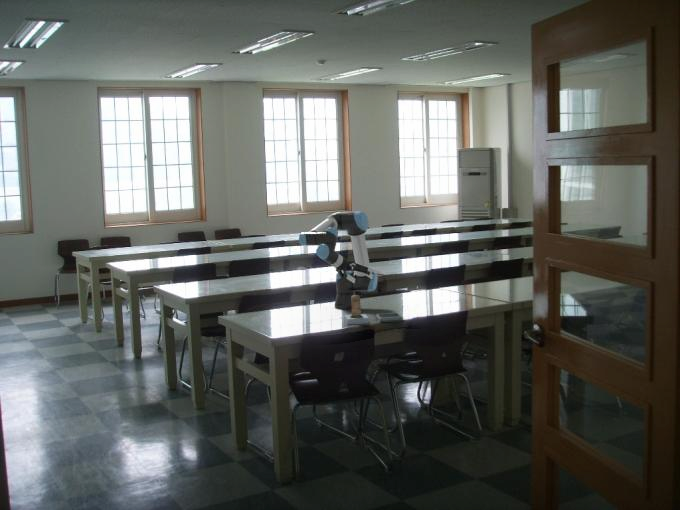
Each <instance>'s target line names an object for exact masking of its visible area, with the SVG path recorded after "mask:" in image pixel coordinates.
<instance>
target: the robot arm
mask: <svg viewBox="0 0 680 510" xmlns="http://www.w3.org/2000/svg"><path fill="white" fill-rule="evenodd" d="M368 229H369V219H368V216H367V213H366V212H365V211H363V210H362V211H361V210H355V211H354V210H351V211H349V210H347V211H345V210H344V211H336V212H334V213H331V214H329V215H327V216H326V217H325V218H324V219H323V220H322V222H320V223H318V224H317V226H315V227H313V228H311V230H309V231H304V232H303V231H302V232H300V234H299V237H298V243H299V244H300V245H301V246H305V247H307V246H308V247H309V246H317V248H316V251H315V253H316V256H318V257H319V258H320V259H321V260H322V261H325V262H326V263H327V264H329V265H331V266H332V267H333V268H334V269H335V271H336V272H337V273H336V275H335V282H336V297H335V301H334V308H335V309H338V310H339V309H340V310H348V309H349V310H352V301H351V296H353V295H356V292H373V291H375V290H376V288H377V286H378V282H379V280H378V277H379V276H378V273H377V272H374V269H373V268H372V267H371V264H370V259H369V258H370V257H369V254H368V253H369V252H368V247H367V246H368V245H367V241H366V237H365V234H366V232H367V230H368ZM339 231H346V232H347V236H349V237H350V241H351V245H352V252H353V258H354V261H352V263H349V261H348V259H347V258H345V257H344V256H342V255H341V254H340V253H338V252H336V246H337V242H338V239H339V238H338V236H339Z"/></svg>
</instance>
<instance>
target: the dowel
mask: <svg viewBox="0 0 680 510" xmlns="http://www.w3.org/2000/svg"><path fill="white" fill-rule="evenodd" d="M351 301H352V308H351V315H352V318H361V314H362V312H361V309H362V308H361V295H359V294H357V295H356V294H355V295H353V296H351Z"/></svg>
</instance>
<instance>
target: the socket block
mask: <svg viewBox="0 0 680 510" xmlns="http://www.w3.org/2000/svg"><path fill="white" fill-rule="evenodd" d="M344 319H345V320H344V321H345V322H346V324H347V325H360V324H361V325H362V324H369V323H370V322H369V317H368V316H367V314H366V313H361V318H352V314H346V315H344Z"/></svg>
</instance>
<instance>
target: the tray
mask: <svg viewBox="0 0 680 510" xmlns="http://www.w3.org/2000/svg"><path fill="white" fill-rule="evenodd" d="M375 315H376V319H377V320H379V321H380V322H382V323H394V322H403V319H404V317H403V316H402V315H401V314H400V313H399V312H388V313H376V314H375ZM379 321H378V322H379ZM380 322H379V323H380Z"/></svg>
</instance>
